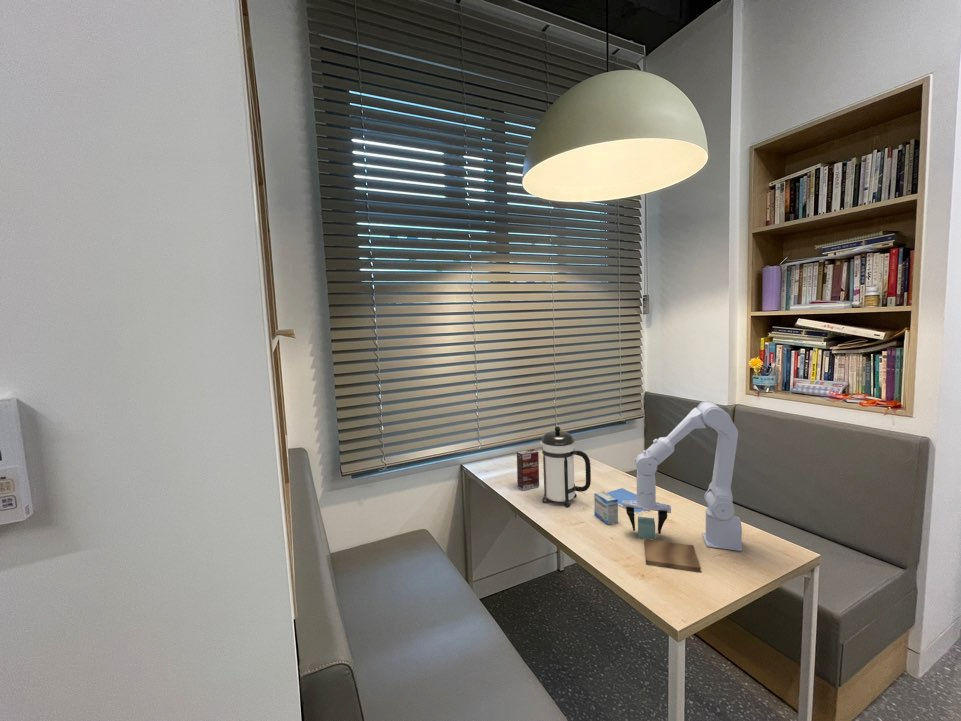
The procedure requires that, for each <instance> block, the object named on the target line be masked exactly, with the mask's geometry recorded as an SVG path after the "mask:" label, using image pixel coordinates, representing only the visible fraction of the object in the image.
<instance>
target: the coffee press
mask: <svg viewBox="0 0 961 721" xmlns="http://www.w3.org/2000/svg"><path fill="white" fill-rule="evenodd" d="M574 443H575V438H574V437H573V435H572V434H571V433H569V432H567V431H563V430H561V427H560V426H555V427H554V431H553V430H552V431H549V432H546V433H544V434H543V436H542V438H541V441H539V443H538V445H540V446H541V445H542V448H541V449H542V450H541V451H542V452H541V453H542V462H543V463H542V466H543V493H544V494H543V497H542V499H541V501H542V503H543V504H547V502H548V501H549V500H550V501H553V502H558V503H559V502H560V503H561V502H563V503H564V506H565V508H569V507H571V504H570V501H571V500H572V499H575V498H577V497H578V495H577V493H576V492H578V493H579V492H586V491H588V490H589V488H590V486H591V482H592V476H591V475H592V473H591V472H592V471H591V469H592V468H591V461H590V457H589V456H588V455H587V453H585V452H584V451H583V450H575V446H574ZM575 456H579V457H581V458H582V460H584V465H585V485H583V486H578V485H576V484H575Z"/></svg>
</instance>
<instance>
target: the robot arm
mask: <svg viewBox="0 0 961 721" xmlns="http://www.w3.org/2000/svg"><path fill="white" fill-rule="evenodd" d="M707 426H708V427H710V428H711V429H713V430H715V431H716V432H717V438H716V439H717V440H716V448H715V456H714V462H713V463H714V464H713V471H712V478H711V482H710V483H709V485H708V488H707V490H706V492H705V493H704V496H703V497H704V498H703V499H704V502H705V504H707V508H706V510H705V532H702V533H701V534H702V538H703V539H704V542H705V545H706V547H709V548H715V549H722V550H724V549H725V550H730V551H731V550H732V551H738V552H742V551H743V548H742V547H743V546H742V542H743V541H742V540H743V537H742V536H743V526H742V521H741V518H740V516H737V515H735V512H736V510H735V507H734V503H733V501H734V500H733V499H734V496H733V494H732V481H733V475H734V468H735V460H736V454H737V453H736V452H737V447H738V438H739V430H738V428H737V426H736V424H735V423H734V421H733V419H732V418H731V415H730V414H729V413H728V412H726V411H725V410H724V409H723V408H722V407H720V406H718V405H717V404H716V403H715V402H714V401H710V400H705V401H702V402H700V403H699V404H698V405H697V407H694V408H692V409H691V410H690V412H689V413H687V415H686V416H685V417H684V419H682V420H681V421H680V422H679V423H678V424H677V425H676V426H675V428H673V430H672V431H670V433H668V434H667V436H663V437H659V438H654V439H653V440H652V442H653V443H652V444H651V445H650V446H649V447H648V448H647V449H643V450H642V453H638V455H637V456H636V458H635V461H634V462H635V465H636V468H637V470H636V495H637V500H631V501H624V500H623V507H622V509H624V510H625V511H626V514H627V516H628V518H629V520H630V524H631V526H632V527H631V528H632V531H633V532H635V531H636V521H635V514H634V509H642V510H644V511H648V512H651V511H654V512H657V534H658V535H662V529H663V526H664V525H665V522H666V520H667V519H668V514H672V506H671V505H670V504H667V503H660V502H657V498H656V494H657V492H656V490H657V489H656V484H657V483H656V476H655V475H656V473H657V471H658V465H661V463H663V462H664V461H665V460H666V459H667V458H668V457H670V456H671V455H672V454H673V453H674V452H675V445H676V444H678V443H679V442H680V441H681V440H682V439H684V438H685V437H686V436H687V435H689V434H690V433H691V432H692V431H694V430H695V429H707Z"/></svg>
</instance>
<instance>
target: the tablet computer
mask: <svg viewBox="0 0 961 721" xmlns="http://www.w3.org/2000/svg"><path fill="white" fill-rule="evenodd" d="M606 493H608V494H609V495H611V496H613V497H614V498H616V499H618V507H622V508H623V500H624V501H631V500H637V493H634V492H632V491H630V490H627V489H625V488H622V487H621V488H618V489H614V490H611V491H608V492H606ZM642 512H645V511H644V510H642V509H634V513H636V514H635V515H637V514H639V513H642ZM645 513H646V512H645ZM642 514H643V513H642ZM639 515H640V514H639Z"/></svg>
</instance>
